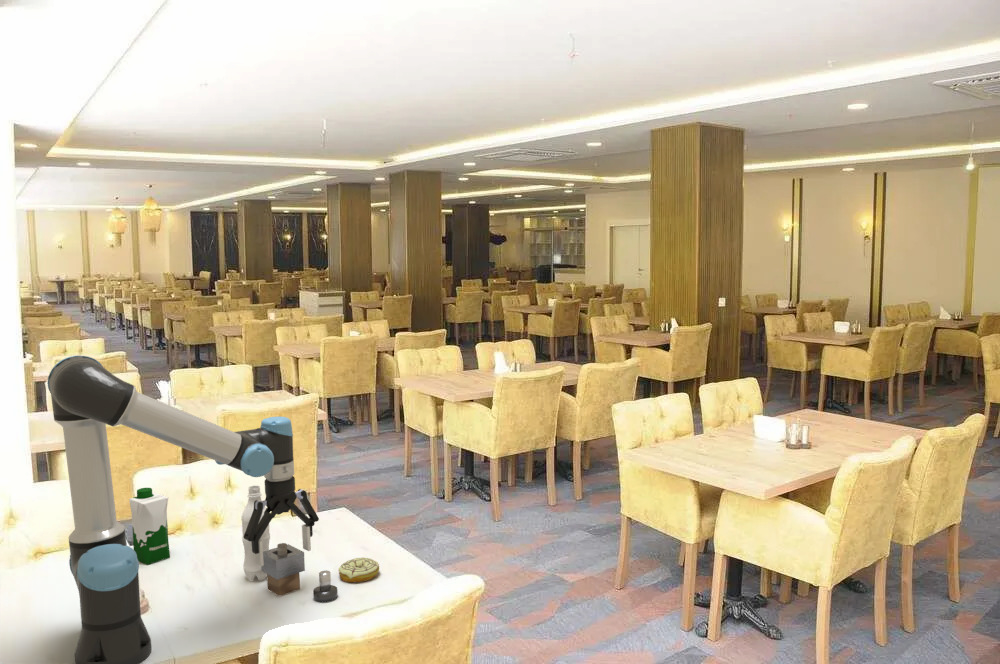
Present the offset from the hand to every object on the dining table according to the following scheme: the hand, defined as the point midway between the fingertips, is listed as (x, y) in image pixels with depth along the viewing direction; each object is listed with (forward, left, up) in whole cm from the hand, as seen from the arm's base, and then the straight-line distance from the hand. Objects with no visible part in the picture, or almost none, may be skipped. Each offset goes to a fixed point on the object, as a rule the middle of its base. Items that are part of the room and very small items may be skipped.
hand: (283, 557), depth 210 cm
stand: (0, 0, -9) cm, 9 cm away
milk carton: (-16, +46, -9) cm, 50 cm away
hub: (+5, -12, -9) cm, 15 cm away
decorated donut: (+18, -7, -9) cm, 22 cm away
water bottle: (-1, +12, -9) cm, 15 cm away
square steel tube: (0, 0, -4) cm, 4 cm away
